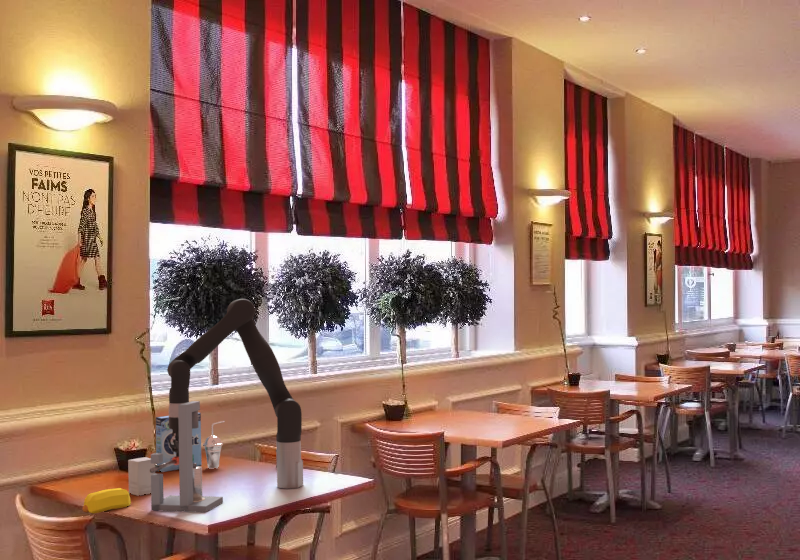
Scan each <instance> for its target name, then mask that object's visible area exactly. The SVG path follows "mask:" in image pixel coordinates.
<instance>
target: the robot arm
mask: <svg viewBox="0 0 800 560" xmlns="http://www.w3.org/2000/svg"><path fill="white" fill-rule="evenodd" d="M226 311H227V312H226V314H225V315H224V316H223V317H222V318H221V319H220V320H219V321H218V322H217V323H216V324H215V325H214V326H212V327H211V328H210V329H208V330H207V331H206V332H204V333H203V334H202V335H201V336H199V337H198V338H197V339H196V340H195V341H194V342H193V343H191V345H190V346H188V347H187V348H186V350H185V351H183V352H181V353H180V354H179V355H178V356H176V357H175V358H173V359H172V361H171V362H170V363H169V364H168V366H167V369H166V370H167V374H168V376H169V377H170V388H169V390H168V391H169V392H168V399H169V400H168V403H169V404H168V416H169V428H170V429H172V430H173V431H172V439H169V444H170V446H171V449H172V451H173V452H175V453H176V456H178V457H179V419H178V405H180V404H184V403H187V402H190V393H189V390H190V389H189V387H190V382H191V369H192V368H193V367H195V366H196V365H197V364H199V363H201V362H202V361H204V360H205V359H206V358H207V357H208V356H209V355H210V354H212V352H213V351H214V350H215V349H216V348H217V347H218V346H219V345H220V344H221V343H222V342H223V341H225V340H226V338H228V337H229V336H230V335H231V334H232V333H233V332H235V331H236V332H237V334H238V336H239V338H240V339H241V341H242V344H243V347H244V349H245V352H246V354H247V357H248V359H249V360H250V363H251V366H252V367H253V370H254V372H255V373H256V376H257V377H258V379H259V380H260V382H261V384H262V385H263V388H264V389H265V390H266V392H267V394H268V395H267V396H269V399H270V402H271V404H272V407H273V410H274V414H275V417H276V418H277V419H276V421H277V423H276V427H277V428H276V431H277V432H276V444H275V445H276V449H277V468H276V485H277V488H279V489H298V488H300V487H302V486H303V485H304V460H303V459H302V441H301V438H302V436H301V435H302V431H303V430H302V428H303V425H302V424H303V423H302V419H303V418H302V407H301V405H300V403H299V402H297V401H296V400H295V399H294V398H293V397H292V394H291V393H290V391H289V389H288V387H287V386H286V384H285V381H284V378H283V373H282V371H281V367H280V364H279V361H278V359H277V357H276V355H275V352H274V351H273V349H272V347H271V346H270V344H269V343H268V341H267V340H266V339H265V338H264V337H263V335H262V334H261V332H260V331H259V329H258V327H257V325H256V322H255V320H254V316H255V312H256V309H255V305H254V304H253V302H252V301H250V300H249V299H246V298H239V299H235V300H233V301H232V302H230V303H229V305H227V309H226Z"/></svg>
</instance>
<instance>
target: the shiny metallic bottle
mask: <svg viewBox="0 0 800 560" xmlns="http://www.w3.org/2000/svg"><path fill="white" fill-rule="evenodd" d="M202 496H203V467H202V466H201V465H199V466H197V463H193V501H199V500H202Z"/></svg>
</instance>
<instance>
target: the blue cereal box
mask: <svg viewBox="0 0 800 560" xmlns="http://www.w3.org/2000/svg"><path fill="white" fill-rule="evenodd" d="M201 415H202V414H201V412H198V428H193V429H192V457H193V463H197V466H202V464H203V463H202V426H201V425H202V421H201V419H202V416H201ZM172 431H173V430H172V429H170V428H169V415H164V416H155V442H156V443H155V450H156V451H155V453H163V462H162V463H159V464H157V465H161V464H163V463H166V462H168V461H171V460H172V458H173V457H175V456H176V453H175V452H173V451H172V449H171V446H170V444H169V439H172ZM176 470H179V465H171V466H168V467H166V468H163V469H161V470H160V471H161V472H160V473H165V472H170V471H176Z"/></svg>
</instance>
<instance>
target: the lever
mask: <svg viewBox="0 0 800 560" xmlns="http://www.w3.org/2000/svg"><path fill="white" fill-rule="evenodd" d="M171 465H179V457H178V456H175V457H173V458H172V460H171V461H168V462H166V463H163V464H161V465H158V466H156V465H155V467H153V468H151V469H150V472H151V473H154V472H155V473H156V472H159V470H161V469H163V468H166V467H168V466H171Z"/></svg>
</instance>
